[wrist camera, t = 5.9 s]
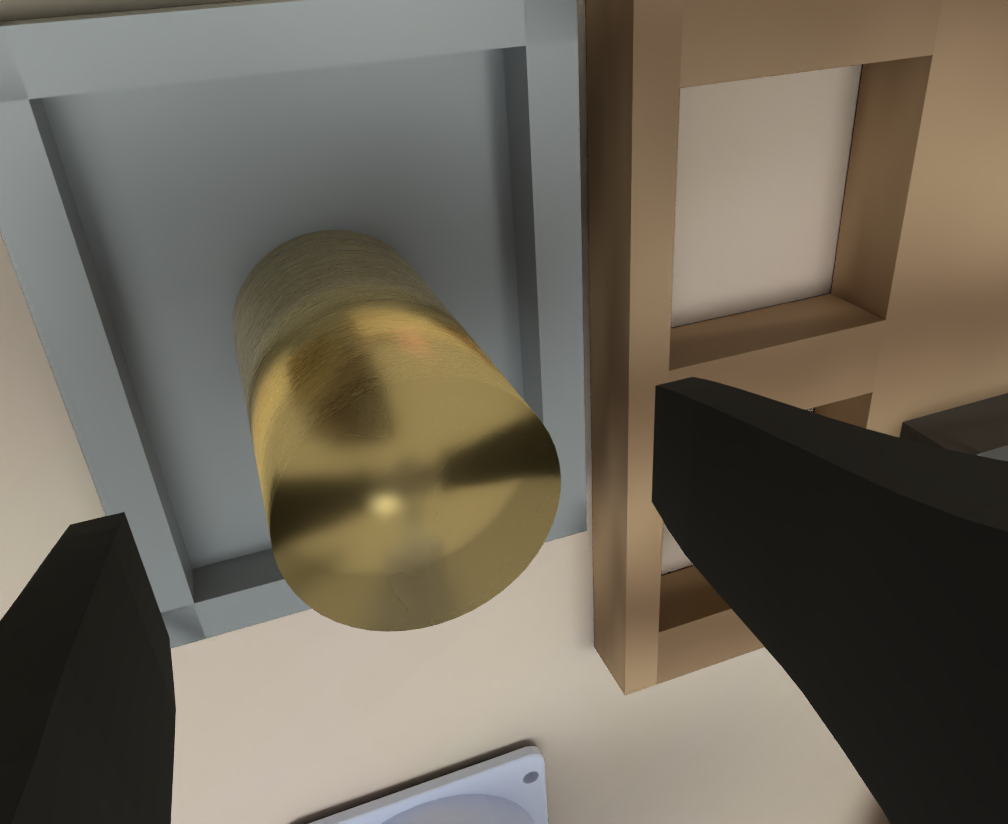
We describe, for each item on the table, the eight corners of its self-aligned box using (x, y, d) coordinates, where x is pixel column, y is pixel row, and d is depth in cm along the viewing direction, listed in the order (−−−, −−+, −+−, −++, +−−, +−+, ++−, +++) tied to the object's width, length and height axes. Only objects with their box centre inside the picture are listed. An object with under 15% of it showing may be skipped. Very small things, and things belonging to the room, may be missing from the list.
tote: (557, 491, 22) (586, 530, 20) (157, 598, 19) (156, 652, 17) (538, -24, 16) (576, -23, 14) (-47, 25, 13) (-74, 32, 12)
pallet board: (960, 527, 29) (1064, 600, 25) (594, 646, 25) (660, 750, 22) (1117, -73, 20) (1309, -81, 16) (585, -28, 16) (695, -28, 13)
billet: (438, 391, 18) (564, 586, 13) (256, 432, 17) (301, 665, 12) (418, 215, 16) (556, 348, 11) (210, 248, 15) (238, 417, 10)
